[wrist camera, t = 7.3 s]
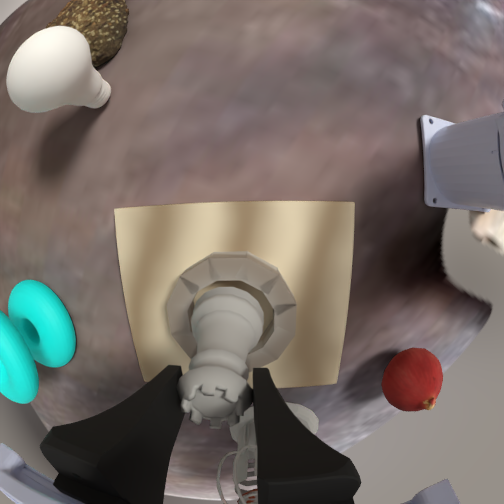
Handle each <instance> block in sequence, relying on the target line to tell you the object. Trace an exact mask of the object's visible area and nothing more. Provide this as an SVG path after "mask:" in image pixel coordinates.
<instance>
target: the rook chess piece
mask: <svg viewBox="0 0 504 504" xmlns="http://www.w3.org/2000/svg"><path fill="white" fill-rule="evenodd" d="M263 325H264V313H263V310H262V308H261V306H260V304H259V302H258V301H257V300H256V299H255V298H254V297H253V296H251V295H250V294H249V293H248V292H246V291H243V290H241V289H238V288H235V287H217V288H214V289H212V290H209V291H207V292H205V293H204V294H203V295H202V296H201V297H200V298H199V299H198V300H197V301H196V304H195V307H194V310H193V315H192V318H191V326H192V333H193V336H194V338H195V340H196V342H197V354H196V355H195V356H194V357H193V358H192V359H191V361H190V364H189V371H188V372H186V373H185V374H184V375H183V376H181V377H180V378H179V381H178V384H177V387H176V388H177V391H178V395H179V398H180V399H181V400H182V402H181V409H182V412H183V413H189V411H190V412H191V414H190V418H189V420H191V421H192V422H194V423H196V424H198V425H199V424H200V423H201V421H202V418H204V419H207V420H211V422H210V428H214V429H221V426H222V421H225V420H228V421H227V424H228V425H230V426H231V427H232V426H234V425H236V424H238V423H240V416H244V412H245V411H246V410H247V409H248V408H249V407H250V405H251V404H252V402H253V390H252V388H251V387H250V385H249V384H248V382H247V380H248V378H249V369H248V367H247V365H246V364H245V362H246V359H247V355H248V353H249V352H250V351H251V350H252V349H253V348H254V347H255V346H256V345H257V343H258V341H259V339H260V337H261V335H262V333H263Z"/></svg>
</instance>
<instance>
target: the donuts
mask: <svg viewBox="0 0 504 504" xmlns="http://www.w3.org/2000/svg"><path fill="white" fill-rule="evenodd" d="M8 313H9V318H8V317H7V316H6V315H5V314H4V313H3V312H2V311H1V310H0V392H1V393H2V394H3V395H4V396H6V397H8V398H9V399H10V400H12V401H14V402H17V403H21V404H22V403H23V404H24V403H29V402H31V401H32V400H33V399H34V398H35V397H36V395H37V393H38V388H39V378H38V372H37V368H36V364H35V361H34V360H36V361H37V362H39V363H41V364H43V365H45V366H48V367H61V366H64V365H66V364H67V363H68V362H69V361H70V360H71V359H72V357H73V355H74V352H75V347H76V336H75V330H74V326H73V323H72V321H71V318H70V316H69V313H68V311H67V310H66V308H65V306H64V305H63V303H62V302H61V300H60V299H59V298H58V296H57V295H56V294H55V293H54V292H53V291H52V290H51V289H50V288H49V287H47V286H46V285H44V284H43V283H41V282H38V281H35V280H24V281H22V282H20V283H18V284H17V285H16V286H15V287H14V288H13V290H12V292H11V294H10V298H9V303H8Z"/></svg>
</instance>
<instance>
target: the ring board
mask: <svg viewBox="0 0 504 504" xmlns="http://www.w3.org/2000/svg"><path fill="white" fill-rule="evenodd" d="M354 208H355V202H342V201H236V202H207V203H186V204H169V205H153V206H140V207H128V208H118V209H114V211H115V225H116V237H117V247H118V256H119V264H120V271H121V278H122V285H123V291H124V297H125V303H126V308H127V313H128V318H129V323H130V328H131V332H132V337H133V341H134V345H135V349H136V353H137V357H138V361H139V365H140V369H141V372H142V376H143V379H144V381H145V382H149V381H151V380H152V379H153V378H154V377H155V376H156V375H157V374H159V373H160V372H161V371H162V370H163V369H164V368H165V367H167V366H168V365H178V366H181V369H182V374H183V375H184V374H185V373H186V372H188V371H189V364H190V361H191V359H192V358H193V357H194V356H195V355H196V354H197V342H196V340H195V338H194V336H193V333H192V326H191V318H192V315H193V310H194V307H195V304H196V301H197V300H198V299H199V298H200V297H201V296H202V295H203V294H204V293H205V292H207V291H209V290H212V289H214V288H217V287H235V288H238V289H241V290H243V291H246V292H248V293H249V294H250V295H251V296H253V297H254V298H255V299H256V300H257V301H258V302H259V304H260V306H261V308H262V310H263V313H264V325H263V333H262V335H261V337H260V339H259V341H258V343H257V345H256V346H255V347H254V348H253V349H252V350H251V351H250V352H249V353H248V355H247V359H246V362H245V364H246V365H247V367H248V369H249V378H248V380H247V382H248V384H249V385H250V387H251V388H252V389H253V368H268V369H269V371H270V375H271V377H272V380H273V382H274V384H275V386H276V388H291V387H306V386H318V385H328V384H336V383H337V378H338V372H339V367H340V361H341V355H342V349H343V342H344V336H345V329H346V321H347V313H348V304H349V295H350V284H351V272H352V259H353V241H354Z"/></svg>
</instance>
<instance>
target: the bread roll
mask: <svg viewBox="0 0 504 504" xmlns="http://www.w3.org/2000/svg"><path fill="white" fill-rule="evenodd" d="M128 15H129V9H127V5H126V4H125V0H72V1H70V2H69V3H67V5H66V6H65V7H64V8H63V9H62V10H61V12H60V13H59V14H58V16H57V18H56V19H54V20H53V21H52V22H51V23H48V25H47V26H46V28H49V27H54V26H67V27H71V28H73V29H76V30H77V31H79V32H80V33H81V34H82V35H84V37H85V39H86V40H87V42H88V44H89V48H90V53H91V59H92V65H93V67H94V68H95V67H97V66H99V65H101V64H103V63H105V62H106V61H108V60H109V59H110V58H112V57H113V56H114V55H115V54H116V53H117V51H118V50H119V48H120V47H121V45H122V41H123V38H124V36H125V34H126V31H127V23H128V20H127V18H128Z"/></svg>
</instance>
